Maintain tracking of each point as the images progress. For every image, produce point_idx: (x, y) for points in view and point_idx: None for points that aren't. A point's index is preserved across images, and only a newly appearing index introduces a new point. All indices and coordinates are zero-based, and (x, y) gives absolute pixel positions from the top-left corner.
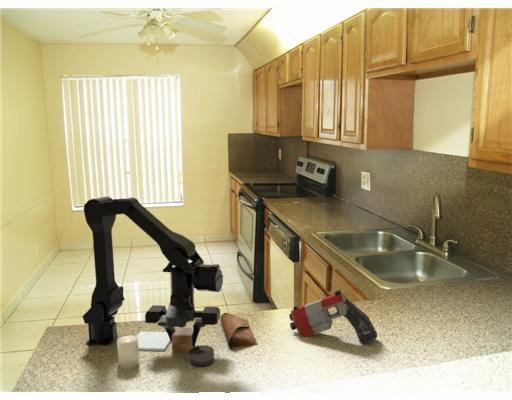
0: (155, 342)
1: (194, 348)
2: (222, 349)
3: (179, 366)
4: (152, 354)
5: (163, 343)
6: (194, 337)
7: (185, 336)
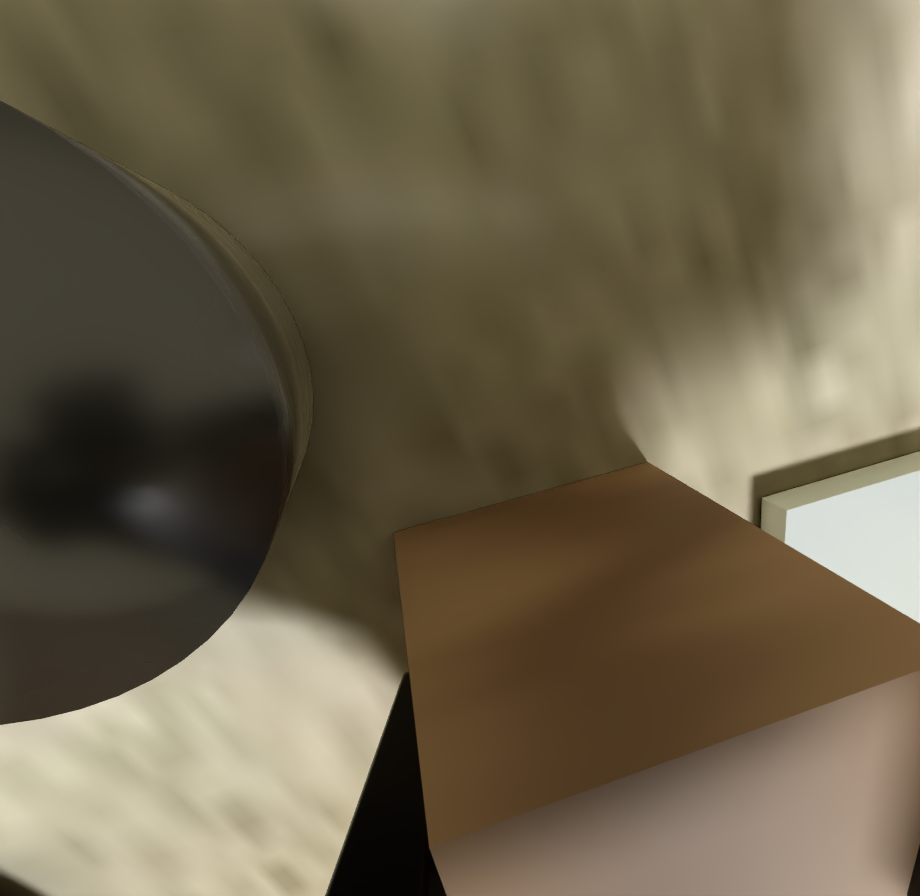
0: (909, 596)
1: (207, 505)
2: (42, 797)
3: (384, 104)
4: (875, 367)
5: None
6: (391, 841)
7: (588, 767)
